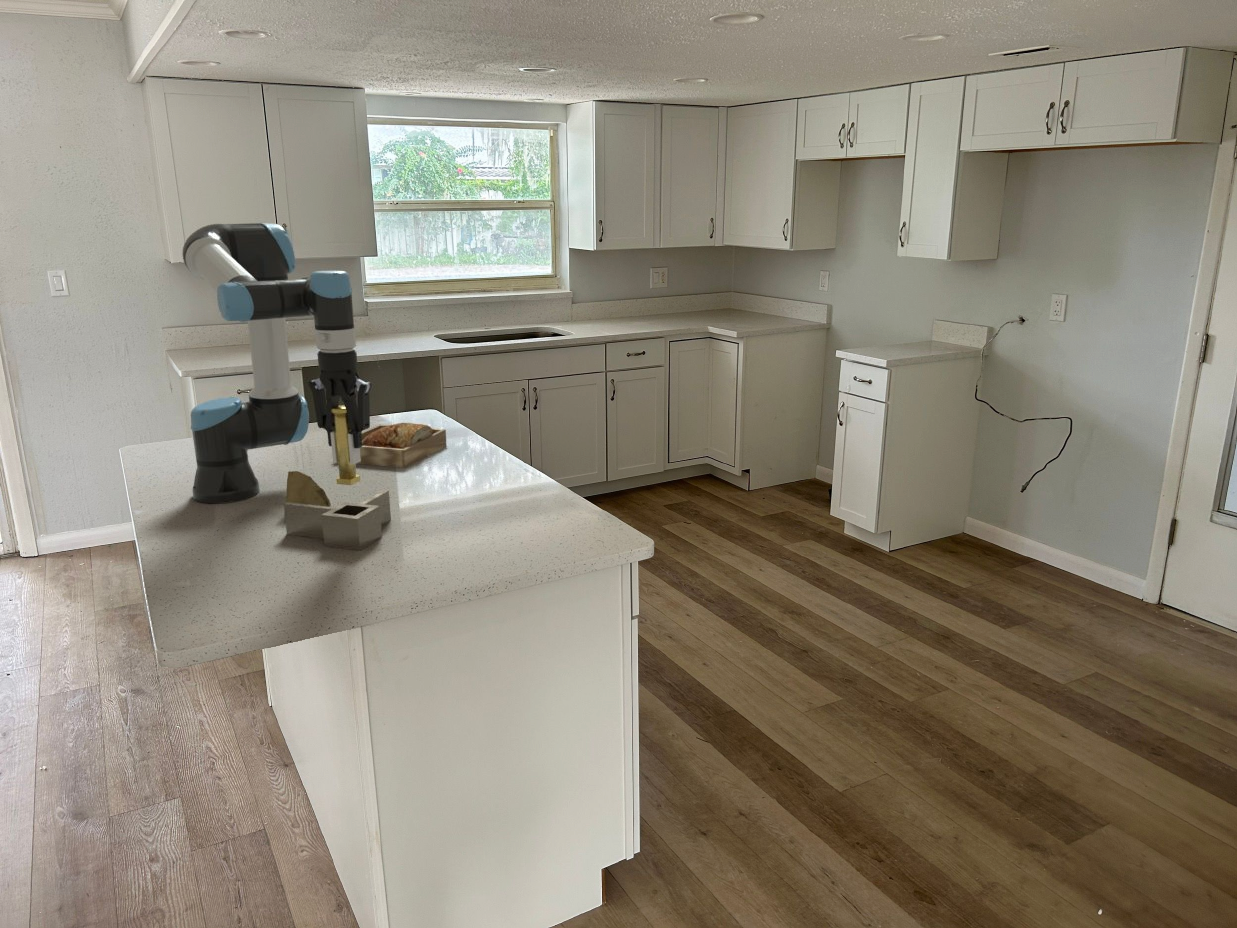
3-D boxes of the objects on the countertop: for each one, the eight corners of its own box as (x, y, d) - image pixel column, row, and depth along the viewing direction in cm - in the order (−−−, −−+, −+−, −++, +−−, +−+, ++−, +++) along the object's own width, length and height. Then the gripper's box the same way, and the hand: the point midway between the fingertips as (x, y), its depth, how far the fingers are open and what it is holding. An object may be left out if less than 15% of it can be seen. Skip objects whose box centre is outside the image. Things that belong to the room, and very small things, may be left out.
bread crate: (335, 461, 248) (333, 444, 247) (381, 440, 270) (379, 424, 269) (405, 467, 242) (404, 450, 241) (446, 445, 264) (445, 429, 263)
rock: (332, 491, 215) (289, 489, 212) (332, 470, 208) (287, 467, 206) (328, 529, 208) (283, 527, 206) (328, 508, 202) (282, 506, 199)
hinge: (276, 540, 190) (272, 509, 188) (326, 512, 207) (324, 483, 205) (360, 550, 185) (357, 518, 183) (405, 521, 202) (403, 491, 200)
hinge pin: (334, 484, 184) (326, 408, 180) (345, 478, 188) (338, 404, 184) (351, 486, 183) (344, 410, 179) (363, 480, 187) (356, 405, 182)
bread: (402, 468, 243) (400, 432, 240) (348, 461, 249) (345, 426, 247) (444, 449, 261) (442, 416, 258) (392, 443, 268) (390, 411, 265)
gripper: (289, 350, 177) (302, 464, 183) (362, 354, 172) (372, 470, 179) (312, 345, 184) (323, 454, 190) (382, 348, 179) (391, 460, 186)
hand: (347, 461), depth 184 cm, fingers closed on hinge pin, 3 cm apart
